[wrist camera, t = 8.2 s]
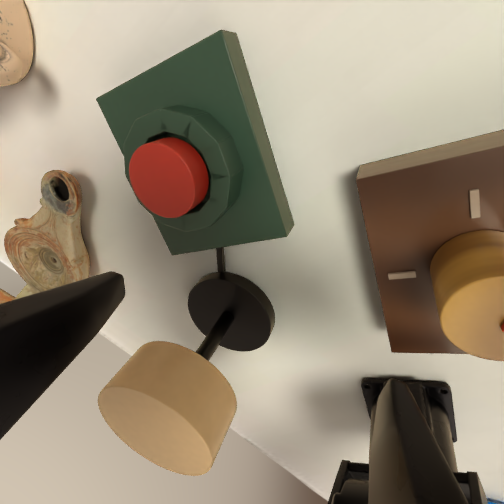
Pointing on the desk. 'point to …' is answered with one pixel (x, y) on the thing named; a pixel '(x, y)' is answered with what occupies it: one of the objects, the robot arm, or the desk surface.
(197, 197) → the button
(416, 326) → the dimmer panel
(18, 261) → the oil lamp
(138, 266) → the desk surface
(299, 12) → the desk surface
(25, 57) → the teacup with lid
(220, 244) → the switch block
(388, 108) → the desk surface
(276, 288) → the desk surface
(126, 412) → the desk lamp
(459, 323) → the dimmer knob
